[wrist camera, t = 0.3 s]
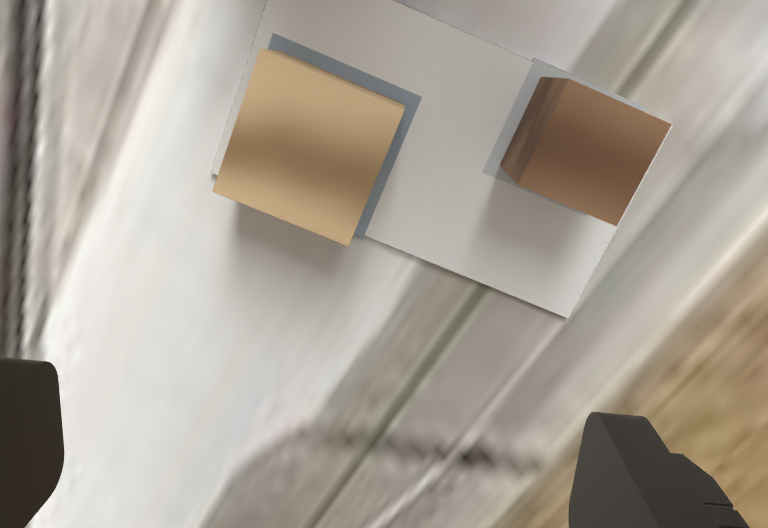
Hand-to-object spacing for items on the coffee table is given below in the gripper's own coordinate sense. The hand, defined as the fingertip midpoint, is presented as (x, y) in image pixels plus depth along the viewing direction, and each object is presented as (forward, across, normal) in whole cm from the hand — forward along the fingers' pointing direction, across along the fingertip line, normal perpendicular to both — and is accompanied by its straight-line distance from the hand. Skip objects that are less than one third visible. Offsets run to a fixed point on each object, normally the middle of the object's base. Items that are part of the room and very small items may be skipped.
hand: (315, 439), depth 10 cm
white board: (+27, -3, -1) cm, 27 cm away
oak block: (+26, +4, -1) cm, 27 cm away
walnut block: (+26, -9, -2) cm, 28 cm away
